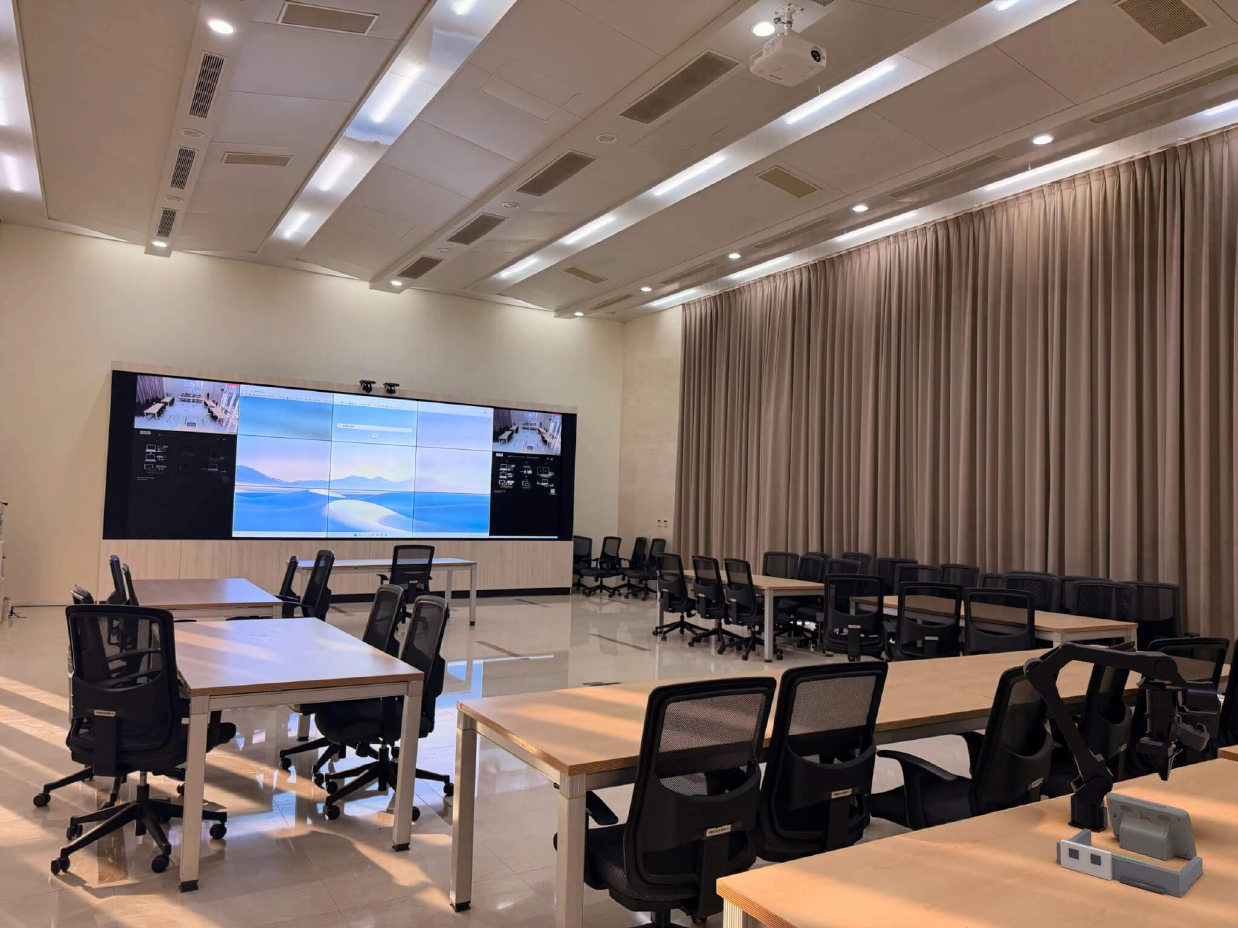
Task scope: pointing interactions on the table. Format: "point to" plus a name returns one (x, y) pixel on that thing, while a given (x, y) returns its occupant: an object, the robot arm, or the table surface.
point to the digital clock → (1151, 827)
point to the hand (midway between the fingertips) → (1164, 780)
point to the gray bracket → (1125, 867)
